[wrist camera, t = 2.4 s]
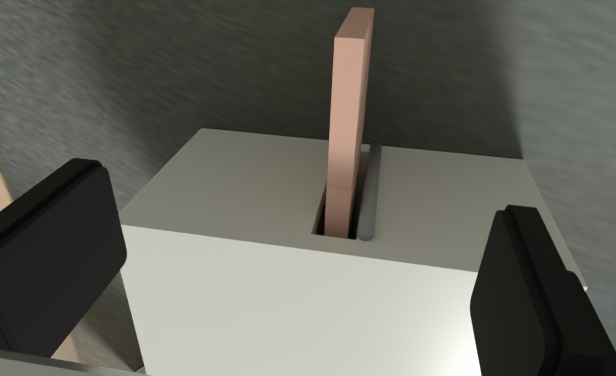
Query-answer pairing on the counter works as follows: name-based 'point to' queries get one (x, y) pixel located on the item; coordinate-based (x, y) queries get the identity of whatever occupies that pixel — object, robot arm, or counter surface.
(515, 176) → the ticket dispenser
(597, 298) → the counter surface
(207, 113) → the counter surface
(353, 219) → the strip
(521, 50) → the counter surface
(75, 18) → the counter surface
